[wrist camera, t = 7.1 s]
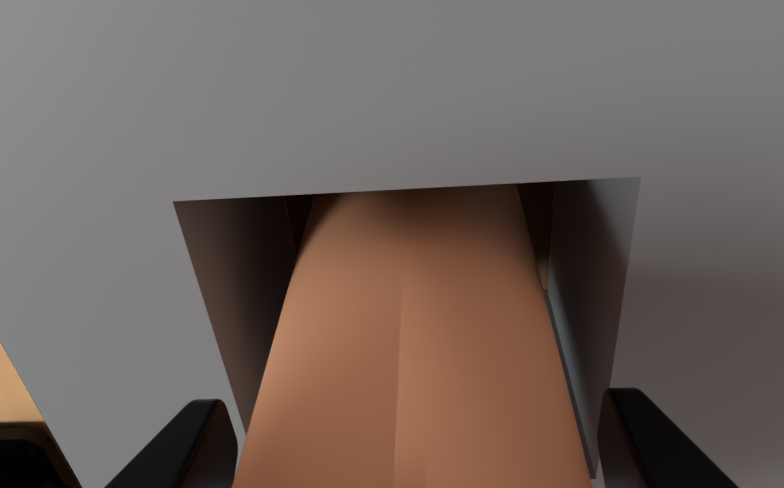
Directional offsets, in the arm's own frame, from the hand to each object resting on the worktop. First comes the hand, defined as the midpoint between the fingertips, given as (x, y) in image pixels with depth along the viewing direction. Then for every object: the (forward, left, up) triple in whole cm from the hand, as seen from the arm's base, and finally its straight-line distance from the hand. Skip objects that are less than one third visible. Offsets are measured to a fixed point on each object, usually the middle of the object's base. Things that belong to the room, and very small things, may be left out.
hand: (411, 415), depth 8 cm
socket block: (0, 0, -6) cm, 6 cm away
